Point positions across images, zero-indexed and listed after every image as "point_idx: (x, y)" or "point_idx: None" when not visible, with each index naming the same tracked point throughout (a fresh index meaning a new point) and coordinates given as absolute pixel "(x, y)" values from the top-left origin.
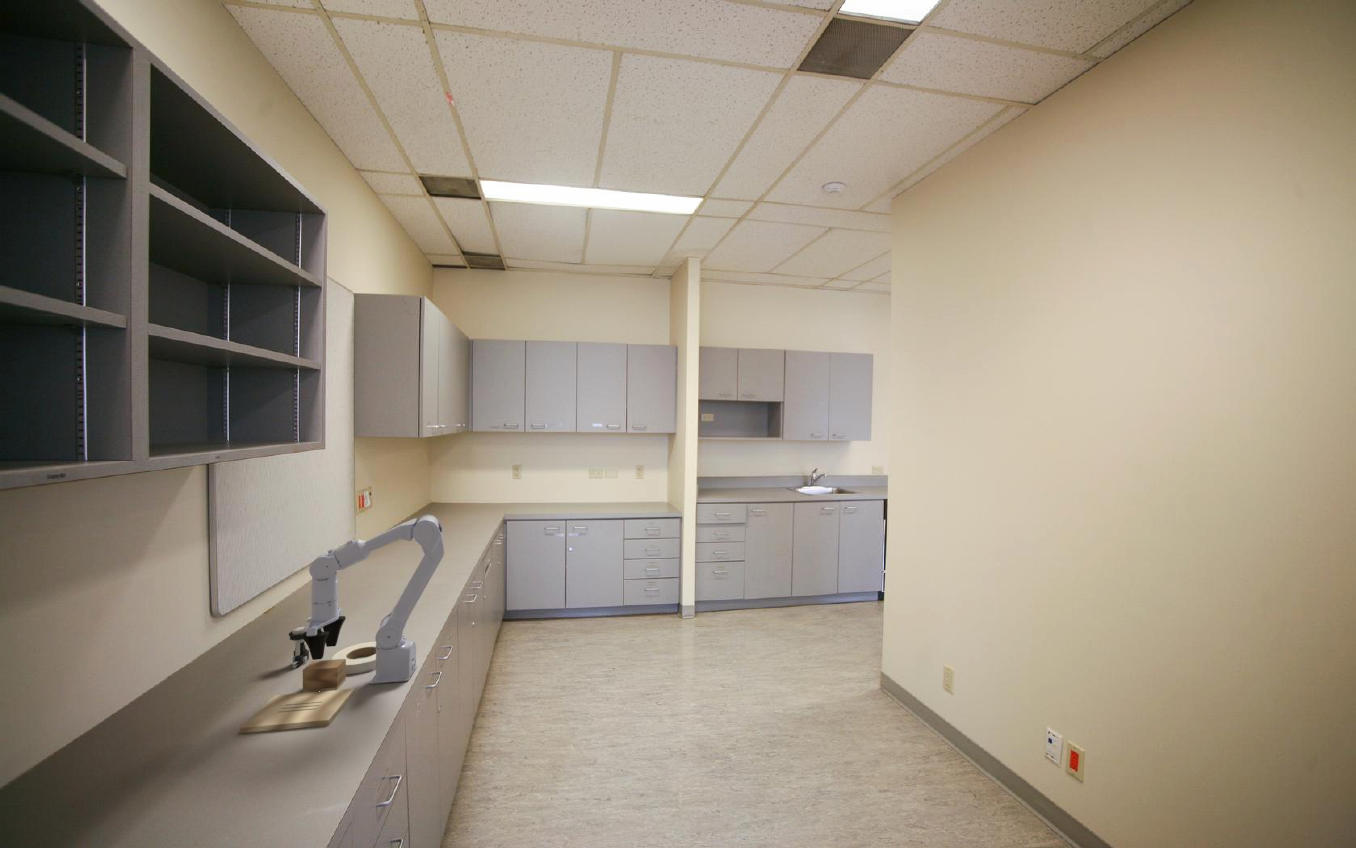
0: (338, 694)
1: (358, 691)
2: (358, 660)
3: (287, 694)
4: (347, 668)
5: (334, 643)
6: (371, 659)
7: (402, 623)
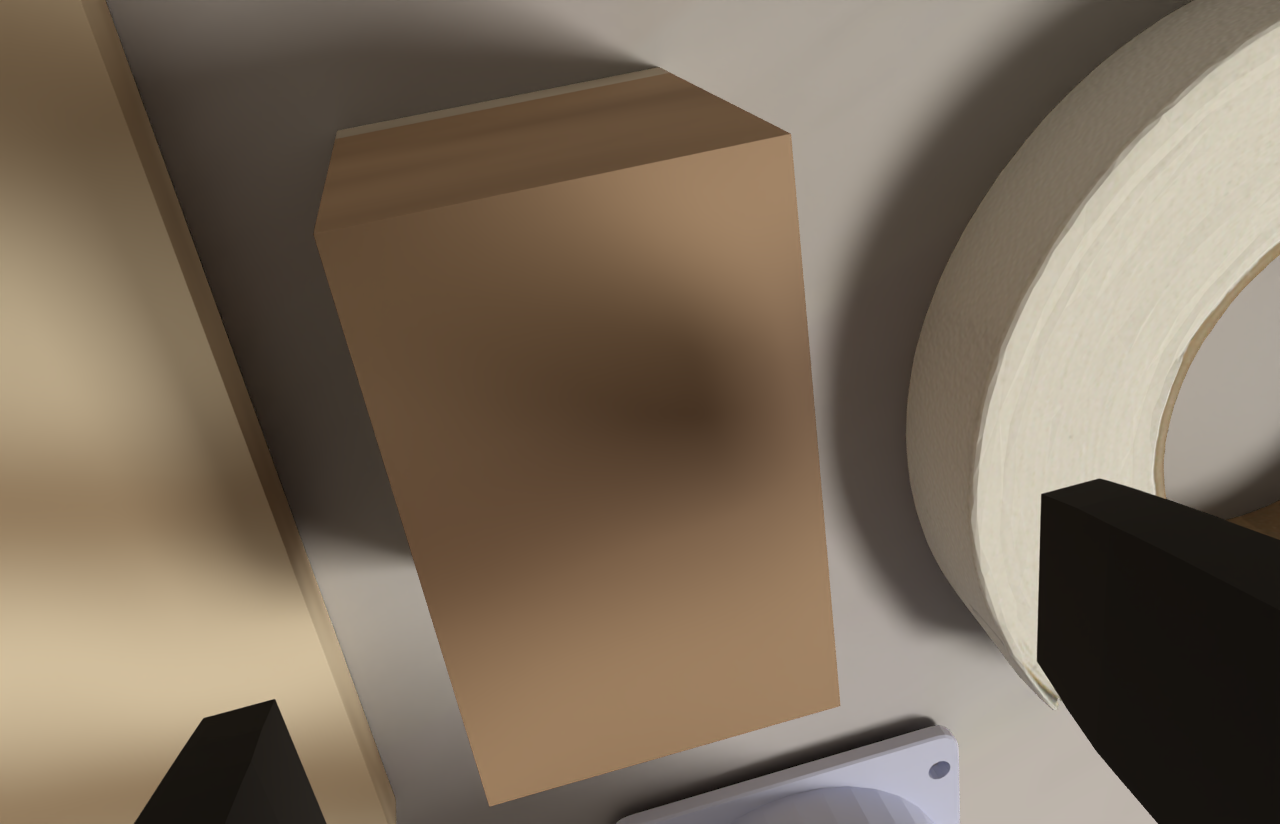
0: None
1: (449, 804)
2: None
3: (70, 20)
4: (947, 436)
5: (1084, 701)
6: None
7: None
